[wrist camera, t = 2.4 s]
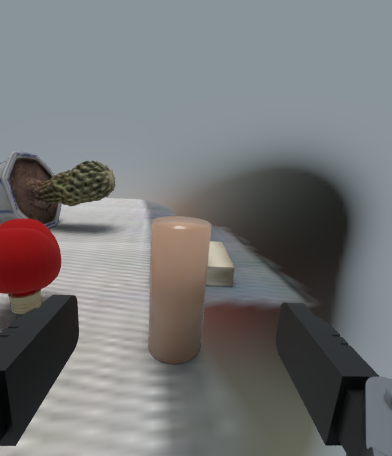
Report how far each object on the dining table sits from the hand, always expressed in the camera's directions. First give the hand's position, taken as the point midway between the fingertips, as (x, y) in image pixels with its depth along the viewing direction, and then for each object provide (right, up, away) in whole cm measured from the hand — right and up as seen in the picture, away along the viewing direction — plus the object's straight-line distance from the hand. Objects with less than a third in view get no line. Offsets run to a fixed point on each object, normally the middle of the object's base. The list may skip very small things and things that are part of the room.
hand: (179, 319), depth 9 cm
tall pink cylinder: (-1, -8, +14) cm, 16 cm away
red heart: (-18, -6, +17) cm, 25 cm away
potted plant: (-34, +3, +48) cm, 59 cm away
